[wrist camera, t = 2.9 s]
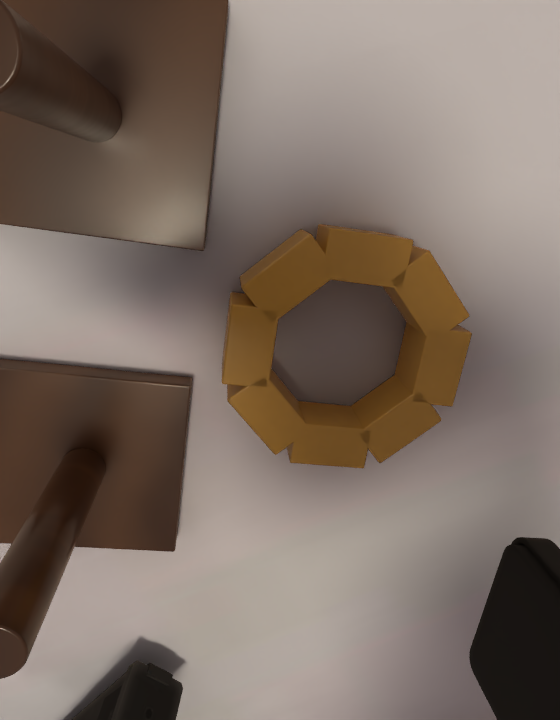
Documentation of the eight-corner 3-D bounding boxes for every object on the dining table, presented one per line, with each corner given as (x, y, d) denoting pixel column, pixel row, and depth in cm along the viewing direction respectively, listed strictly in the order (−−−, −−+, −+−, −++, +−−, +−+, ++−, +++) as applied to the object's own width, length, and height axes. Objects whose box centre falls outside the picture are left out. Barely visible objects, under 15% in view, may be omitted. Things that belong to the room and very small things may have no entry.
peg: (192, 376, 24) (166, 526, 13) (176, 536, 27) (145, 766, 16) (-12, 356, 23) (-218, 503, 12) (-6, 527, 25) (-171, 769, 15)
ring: (466, 244, 23) (494, 251, 21) (415, 447, 26) (434, 474, 24) (239, 211, 22) (241, 215, 19) (214, 430, 25) (213, 457, 22)
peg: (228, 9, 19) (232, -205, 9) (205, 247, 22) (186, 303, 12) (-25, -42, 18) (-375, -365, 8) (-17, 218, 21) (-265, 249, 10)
